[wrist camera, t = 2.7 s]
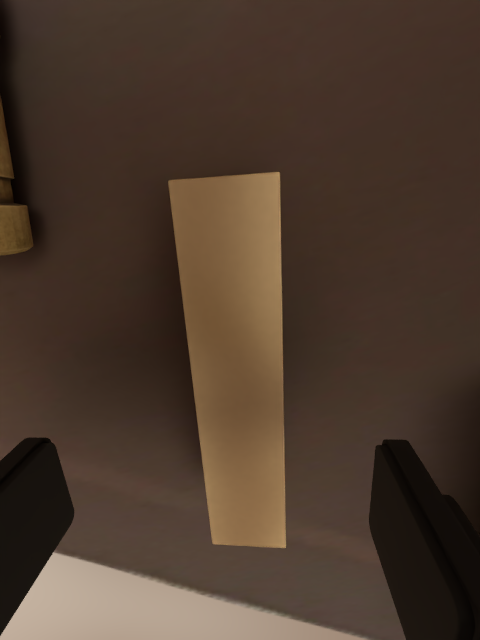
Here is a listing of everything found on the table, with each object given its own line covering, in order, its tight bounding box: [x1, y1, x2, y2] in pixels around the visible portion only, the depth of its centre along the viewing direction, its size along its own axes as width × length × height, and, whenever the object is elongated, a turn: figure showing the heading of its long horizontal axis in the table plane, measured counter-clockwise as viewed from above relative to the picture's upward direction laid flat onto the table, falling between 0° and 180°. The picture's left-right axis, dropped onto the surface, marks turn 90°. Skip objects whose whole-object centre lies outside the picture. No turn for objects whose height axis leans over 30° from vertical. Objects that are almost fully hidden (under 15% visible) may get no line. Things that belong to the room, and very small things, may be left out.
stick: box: [168, 172, 286, 548], centre depth 14 cm, size 4×16×4 cm, turn 3°
